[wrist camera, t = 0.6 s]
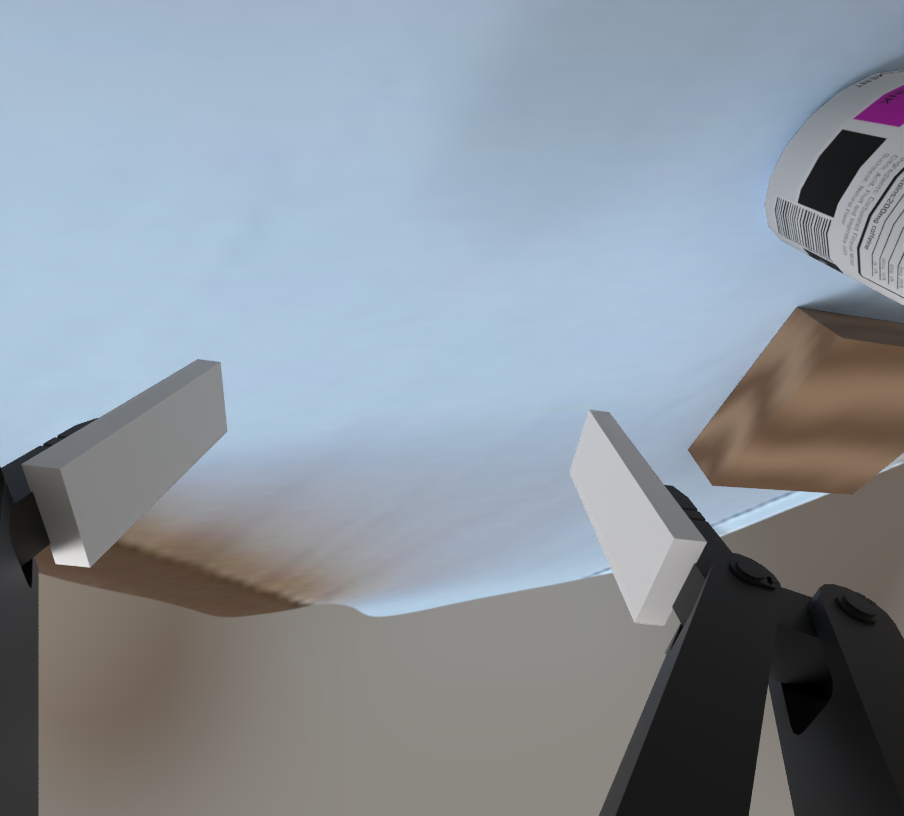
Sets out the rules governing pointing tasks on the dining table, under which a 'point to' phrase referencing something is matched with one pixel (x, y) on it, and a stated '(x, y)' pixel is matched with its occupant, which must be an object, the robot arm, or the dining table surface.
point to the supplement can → (847, 185)
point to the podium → (812, 409)
